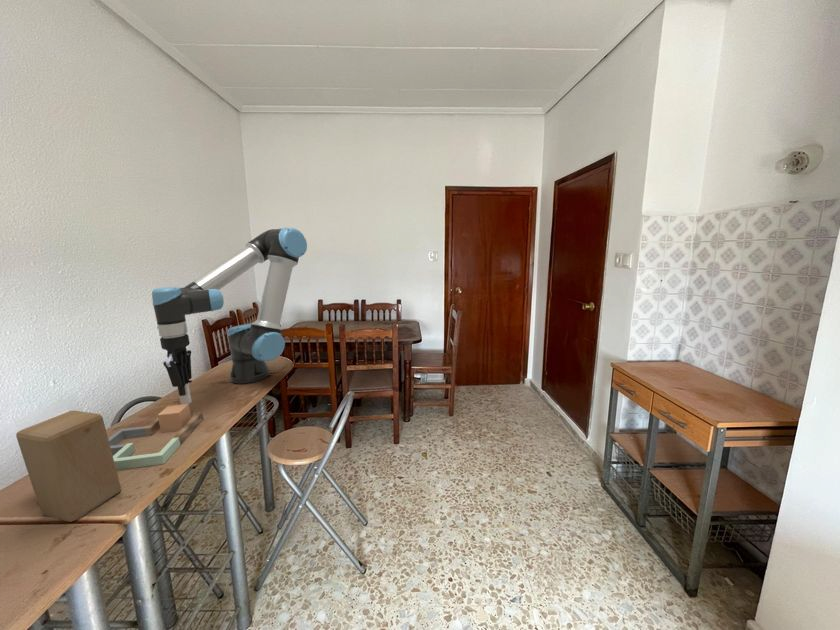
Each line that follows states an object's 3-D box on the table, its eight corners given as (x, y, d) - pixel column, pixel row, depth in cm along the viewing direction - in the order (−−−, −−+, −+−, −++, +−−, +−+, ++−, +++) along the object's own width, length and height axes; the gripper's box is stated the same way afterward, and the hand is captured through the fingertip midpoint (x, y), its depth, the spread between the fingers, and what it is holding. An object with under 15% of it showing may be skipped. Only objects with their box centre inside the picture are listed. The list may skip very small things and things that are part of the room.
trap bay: (121, 436, 102) (120, 429, 102) (149, 433, 104) (147, 425, 103) (94, 458, 92) (92, 450, 91) (125, 454, 93) (123, 446, 93)
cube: (171, 423, 110) (168, 406, 108) (191, 420, 111) (188, 403, 109) (161, 433, 104) (157, 415, 103) (182, 430, 105) (179, 412, 104)
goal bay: (129, 451, 95) (127, 443, 94) (180, 445, 97) (178, 437, 96) (107, 471, 86) (105, 462, 86) (164, 463, 89) (162, 455, 88)
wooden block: (124, 490, 79) (103, 412, 75) (71, 524, 70) (44, 437, 65) (94, 484, 82) (72, 408, 78) (39, 516, 72) (11, 431, 68)
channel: (159, 424, 109) (158, 417, 108) (203, 418, 111) (202, 412, 111) (129, 451, 95) (127, 443, 94) (180, 445, 97) (178, 437, 96)
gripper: (171, 331, 115) (183, 395, 120) (149, 341, 103) (163, 413, 107) (196, 329, 116) (206, 393, 121) (176, 339, 104) (189, 410, 109)
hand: (186, 402), depth 114 cm, fingers closed
